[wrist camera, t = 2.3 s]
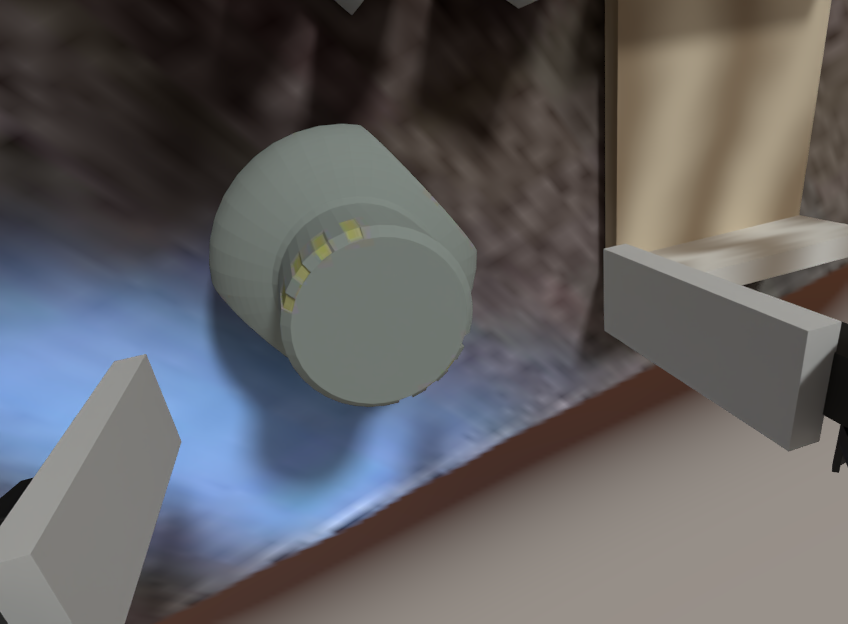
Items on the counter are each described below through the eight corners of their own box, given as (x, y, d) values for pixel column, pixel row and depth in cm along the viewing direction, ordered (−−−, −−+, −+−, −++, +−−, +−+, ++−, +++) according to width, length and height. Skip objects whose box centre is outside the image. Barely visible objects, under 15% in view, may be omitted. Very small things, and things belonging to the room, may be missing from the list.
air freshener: (183, 229, 22) (121, 309, 13) (315, 88, 21) (347, 70, 12) (362, 373, 27) (408, 504, 18) (475, 260, 26) (581, 337, 17)
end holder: (605, 280, 29) (667, 310, 24) (604, -89, 22) (690, -141, 17) (779, 236, 31) (866, 257, 26) (827, -109, 24) (953, -160, 20)
